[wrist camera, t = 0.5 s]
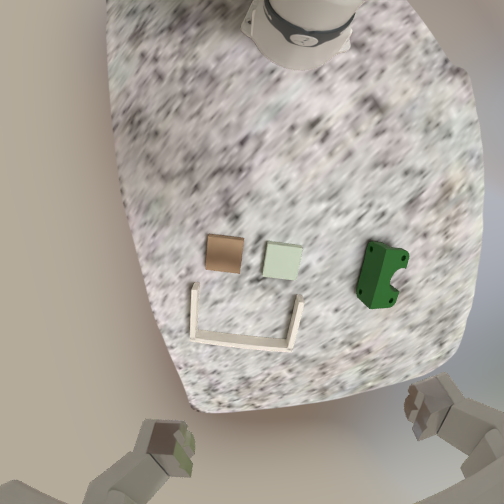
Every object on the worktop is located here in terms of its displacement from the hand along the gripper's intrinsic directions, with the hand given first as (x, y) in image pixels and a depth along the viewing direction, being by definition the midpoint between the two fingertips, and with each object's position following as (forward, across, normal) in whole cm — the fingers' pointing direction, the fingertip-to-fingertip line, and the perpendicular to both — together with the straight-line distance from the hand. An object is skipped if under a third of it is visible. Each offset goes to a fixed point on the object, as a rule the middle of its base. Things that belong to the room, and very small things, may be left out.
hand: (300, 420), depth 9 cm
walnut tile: (+42, +8, +7) cm, 43 cm away
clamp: (+42, -20, +13) cm, 49 cm away
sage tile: (+42, -2, +10) cm, 43 cm away
